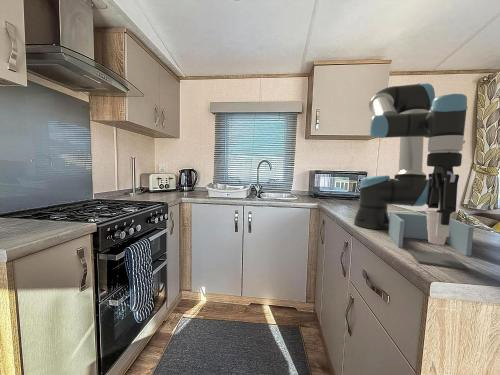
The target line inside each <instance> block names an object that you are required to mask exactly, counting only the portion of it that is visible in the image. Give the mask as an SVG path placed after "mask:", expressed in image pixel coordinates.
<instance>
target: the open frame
mask: <svg viewBox="0 0 500 375" xmlns="http://www.w3.org/2000/svg"><path fill="white" fill-rule="evenodd" d="M389 219H390V220H389V229H388V236H389V237H390V239H391V240H392V241H393V243H394V244H395V245H396V247H397V248H401V249H402V248H403V244H404V238H410V239H419V240H426V241H427V240H428V230H427V214H425V215H424V214H414V213H402V212H401V213H400V212H399V213H398V212H390V213H389ZM474 229H475V227H474V226H472V225H470V224H468V223H465V222H462V221H460V220H457V219H454V218H452V217H451V221H450V230H449V237H446V241H445V243H447V244H448V245H449V246H451V247H452V248H454V249H456V250H457V251H459V253H461V254H463V255H465V256H466V257H467V256H468V257H471V256H472V249H473V241H474V240H473V238H474Z"/></svg>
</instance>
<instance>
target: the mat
mask: <svg viewBox="0 0 500 375" xmlns="http://www.w3.org/2000/svg"><path fill="white" fill-rule="evenodd" d="M407 252H408V253H409V254H410V255H411V256H412V257H413V259H415V261H416V263H417V264H421V263H422V264H423V265H428V266H430V265H431V266H436V267H437V266H438V267H442V268H443V267H445V268H450V269H458V270H466V271H469V267H468V266H467V265H466V264H464V263H463V262H462V261H460V260H459V259H457V257H455V256H454V255H452V254H451V253H445V252H437V251H429V250H422V249H421V250H420V249H413V248H407Z"/></svg>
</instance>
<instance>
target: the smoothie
mask: <svg viewBox="0 0 500 375" xmlns="http://www.w3.org/2000/svg"><path fill="white" fill-rule="evenodd" d="M437 210H440V208H439V207H438V208H428V207H426V208H425V213H426V215H427V228H428V243H430V244H434V245H439V246H440V245H442V246H444V245H445V243H446V242H445V241H446V237H443V236H436V226H437V215H438V213H437V212H436V211H437ZM454 213H455V212H452V214H451V218H452V217H453V216H454V215H455V214H454ZM450 221H451V219H450Z"/></svg>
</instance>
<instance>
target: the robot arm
mask: <svg viewBox="0 0 500 375" xmlns="http://www.w3.org/2000/svg"><path fill="white" fill-rule="evenodd" d="M368 108H369V111H370V112H371V113H372V115H373V116H372V117H371V119H370V122H369V123H370V124H369V136H370V138H376V139H377V138H379V139H384V138H385V139H386V138H387V139H388V138H399V155H398V156H399V159H398V171H397V172H396V173H395V174H394V178H391V177H390V175H375V176H366V177H362V178H361V180H360V185H359V202H358V209H357V212H356V214H355V216H354V219H353V224H354V226H357V227H361V228H364V229H371V230H389V220H390V214H389V213H388V206H389V205H392V206H393V205H395V206H408V207H423V206H425V205H426V206H427V208H438V207H439V208H440V210H437V211H436V212H437V213H438V215H437V226H436V236H443V237H449V230H450V219H451V218H452V217H451V214H452V212H454V213H456V212H457V202H458V201H457V200H458V198H457V197H458V185H459V184H458V182H459V179H460V175H459V174H457V173H455V174H454V168H457V167H458V168H459V167H461V166H462V158H463V153H461V152H462V151H463V147H464V146H463V145H464V144H465V143H466V140H464V136H465V126H466V119H467V110H468V109H469V108H468V97H467V95H466V94H463V93H449V94H443V95H440V96H438V97H436V93H435V88H434V86H433V85H432V84H431V83H429V82H427V83H416V84H415V83H413V84H405V85H396V86H395V85H394V86H389V87H384V88H383V89H381V90H379V91H378V92H375V94H374V95H372V97H371V98H370V100H369V103H368ZM424 138H428V140H427V141H428V142H427V152H428V154H427V159H426V166H427V167H433V170H432V173H429V174H428V179H427V174H426V173H424V172H423V162H424V160H423V157H424ZM427 230H428V228H427Z"/></svg>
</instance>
